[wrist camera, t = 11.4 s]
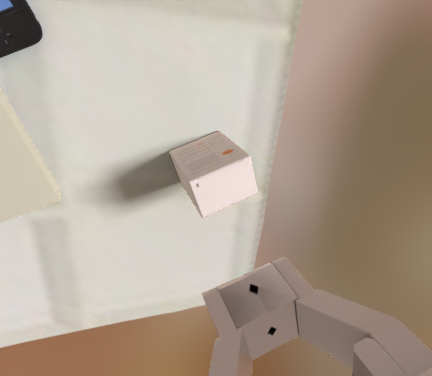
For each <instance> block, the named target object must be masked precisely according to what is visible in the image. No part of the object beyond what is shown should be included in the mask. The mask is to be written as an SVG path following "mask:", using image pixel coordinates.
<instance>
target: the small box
mask: <svg viewBox="0 0 432 376" xmlns="http://www.w3.org/2000/svg"><path fill="white" fill-rule="evenodd" d="M169 154H170V156H171V159H172V161H173V164H174V166H175V169H176V171H177V174H178V177H179V179H180V182H181V184H182V185H183V187H184V189H185V190H186V192H187V194H188V195H189V197H190V199H191V200H192V202H193V203H194V205H195V207H196V209H197V210H198V212H199V213H200V215H201V217H202V218H204V217H206V216H208V215H211V214H213V213H215V212H217V211H219V210H221V209H224V208H226V207H228V206H230V205H232V204H234V203H237V202H239V201H241V200H243V199H245V198H248V197H250V196H252V195H254V194H257V193H258V190H257V185H256V180H255V175H254V171H253V166H252V162H251V157H250V155H249V154H248V153H246V152H245V151H244V150H243V149H241V148H240V147H239V146H238V145H236V144H235V143H234V142H233V141H231V140H230V139H229V138H227V137H226V136H225V135H224V134H222V133H221V132H220V131H217V132H214V133H212V134H210V135H207V136H205V137H202V138H200V139H197V140H195V141H192V142H190V143H188V144H185V145H183V146H180V147H178V148H175V149H173V150H170V151H169Z"/></svg>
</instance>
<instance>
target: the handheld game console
mask: <svg viewBox="0 0 432 376" xmlns="http://www.w3.org/2000/svg"><path fill="white" fill-rule="evenodd" d="M41 38H42V29H41V26H40V24H39V22H38V21H37V20H36V18H35V15H34V13H33V12H32V10H31V8H30V6H29V5H28V3H27V1H26V0H0V58H1V57H4V56H6V55H9V54H12V53H14V52H17V51H19V50H22V49H24V48H27V47H30V46H32V45H34V44H36V43H38V42H39V41H40V40H41Z"/></svg>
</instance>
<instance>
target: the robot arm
mask: <svg viewBox="0 0 432 376" xmlns="http://www.w3.org/2000/svg"><path fill="white" fill-rule="evenodd" d="M202 295H203V298H204V300H205V303H206V306H207V309H208V311H209V314H210V317H211V319H212V322H213V325H214V327H215V330H216V333H217V335H218V337H219V338H217V339H216V340H215V344H214V350H213V355H212V360H211V365H210V370H209V376H252V364H253V363H252V360H254V359H256V358H257V357H259V356H261V355H263V354H265V353H266V352H268V351H270V350H272V349H274V348H276V347H278V346H280V345H282V344H284V343H286V342H288V341H290V340H292V339H294V338H297V337H300V338H301V339H303V340H304V341H306V342H308V343H309V344H311V345H313V346H314V347H316V348H318V349H319V350H321V351H323V352H324V353H326V354H328V355H329V356H331V357H333V358H334V359H336V360H338V361H339V362H341V363H343V364H344V365H346V366H348V367H349V368H351V369H353V372H352V376H432V352H431V350H429V349H428V348H427V347H426V346H425V345H424V344H423V343H422V342H421V341H420V340H419V339H418V338H417V337H416V336H415V335H414V334H413V333H412V332H411V331H410V330H409V329H408V328H407V327H406V326H404V325H403V324H402V323H401V322H400V321H399V320H398V319H396V318H393V317H391V316H388V315H386V314H383V313H380V312H377V311H375V310H372V309H370V308H367V307H365V306H362V305H359V304H357V303H354V302H352V301H349V300H346V299H344V298H341V297H338V296H336V295H333V294H331V293H328V292H325V291H323V290H320V289H317V290H315V291H314V289H313V288H312V287H311V286H310V285H309V283H308V282H307V281H306V280H305V279H304V278H303V276H302V275H301V274H300V273H299V272H298V271H297V270H296V268H295V267H294V266H293V265H292V263H291V262H290V261H289V260H288V259H287V258H286V257H281V258H279V259H277V260H275V261H273V262H271V263H268V264H265V265H263V266H261V267H259V268H257V269H255V270H253V271H251V272H249V273H246V274H244V275H243V276H241V277H239V278H236V279H234V280H232V281H229V282H227V283H224V284H222V285H220V286H217V287H215V288H213V289H211V290H209V291H206V292H204V293H202Z"/></svg>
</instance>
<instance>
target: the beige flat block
mask: <svg viewBox="0 0 432 376" xmlns="http://www.w3.org/2000/svg"><path fill="white" fill-rule="evenodd" d="M61 195H62V191H61V189H60V187H59V186H58V184H57V182H56V180H55V179H54V177H53V175H52V174H51V172H50V170H49V169H48V167H47V165H46V163H45V162H44V160H43V158H42V157H41V155H40V153H39V152H38V150H37V148H36V146H35V145H34V143H33V141H32V140H31V138H30V136H29V135H28V133H27V131H26V130H25V128H24V126H23V124H22V123H21V121H20V119H19V118H18V116H17V114H16V113H15V111H14V109H13V107H12V106H11V104H10V102H9V101H8V99H7V97H6V96H5V94H4V92H3V90H2V89H1V87H0V222H3V221H6V220H9V219H11V218H14V217H17V216H20V215H22V214H25V213H28V212H31V211H34V210H36V209H39V208H42V207H45V206H48V205H50V204H53V203H56V202H59V201H61Z"/></svg>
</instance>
